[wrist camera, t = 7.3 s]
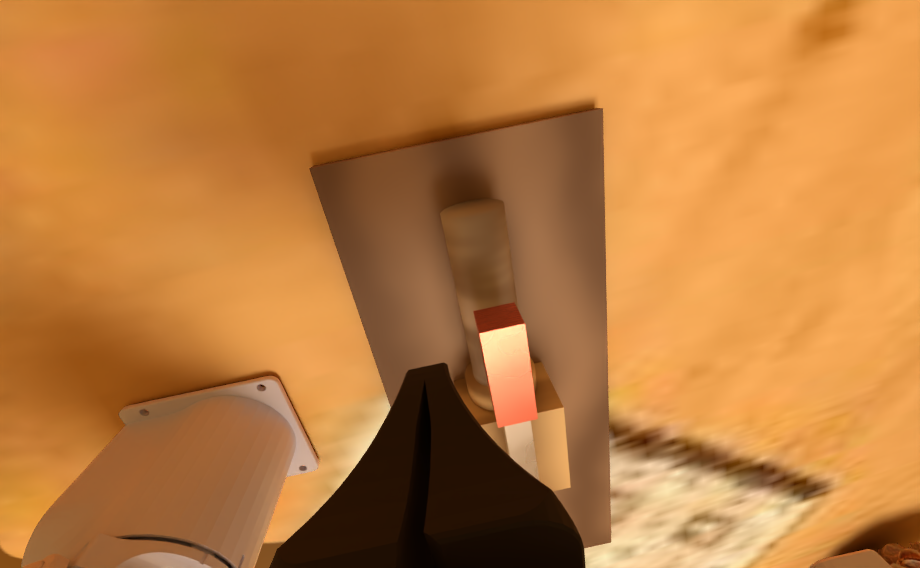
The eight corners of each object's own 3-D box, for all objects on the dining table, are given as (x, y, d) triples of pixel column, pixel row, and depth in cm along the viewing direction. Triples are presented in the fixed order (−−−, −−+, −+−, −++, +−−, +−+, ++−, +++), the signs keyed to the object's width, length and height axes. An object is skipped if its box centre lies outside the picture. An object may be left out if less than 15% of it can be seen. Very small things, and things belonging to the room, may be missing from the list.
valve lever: (537, 472, 22) (550, 509, 20) (506, 478, 22) (515, 517, 20) (511, 297, 17) (525, 323, 15) (471, 306, 17) (479, 333, 15)
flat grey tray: (448, 567, 33) (453, 637, 29) (313, 165, 19) (282, 184, 14) (606, 532, 33) (635, 596, 29) (595, 108, 19) (649, 108, 14)
